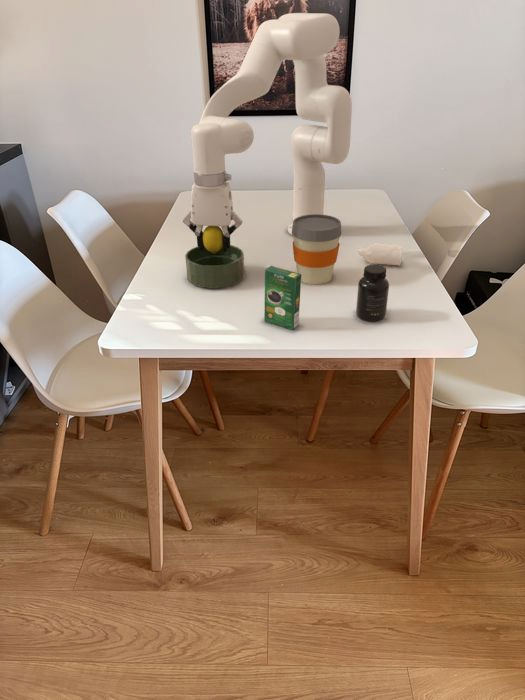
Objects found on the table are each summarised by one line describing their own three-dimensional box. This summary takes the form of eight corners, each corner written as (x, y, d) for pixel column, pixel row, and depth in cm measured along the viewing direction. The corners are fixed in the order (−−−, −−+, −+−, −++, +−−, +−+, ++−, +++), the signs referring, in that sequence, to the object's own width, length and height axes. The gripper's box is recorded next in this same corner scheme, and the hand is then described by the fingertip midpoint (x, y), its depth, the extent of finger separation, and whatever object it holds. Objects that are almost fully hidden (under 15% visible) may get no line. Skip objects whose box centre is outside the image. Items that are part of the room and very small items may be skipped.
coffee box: (300, 326, 126) (302, 272, 119) (294, 331, 124) (295, 277, 117) (270, 316, 130) (270, 264, 123) (263, 322, 128) (263, 269, 121)
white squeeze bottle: (356, 257, 159) (358, 238, 156) (400, 260, 157) (402, 241, 154) (355, 265, 154) (356, 246, 151) (399, 269, 152) (402, 249, 149)
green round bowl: (248, 267, 154) (247, 244, 150) (239, 291, 141) (238, 267, 138) (194, 264, 156) (193, 242, 152) (181, 288, 143) (178, 264, 140)
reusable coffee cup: (306, 291, 141) (308, 234, 133) (282, 273, 150) (282, 218, 142) (347, 281, 146) (352, 225, 138) (321, 264, 155) (324, 211, 147)
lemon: (221, 258, 142) (220, 228, 138) (201, 257, 143) (198, 226, 139) (227, 250, 147) (226, 220, 142) (207, 249, 148) (205, 219, 143)
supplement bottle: (352, 309, 132) (356, 262, 126) (381, 308, 133) (386, 261, 126) (359, 324, 126) (363, 275, 120) (389, 322, 127) (395, 274, 120)
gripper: (247, 175, 137) (249, 245, 146) (179, 173, 139) (185, 243, 148) (242, 184, 130) (244, 256, 140) (171, 182, 132) (178, 253, 142)
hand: (214, 248), depth 144 cm, fingers closed on lemon, 5 cm apart
